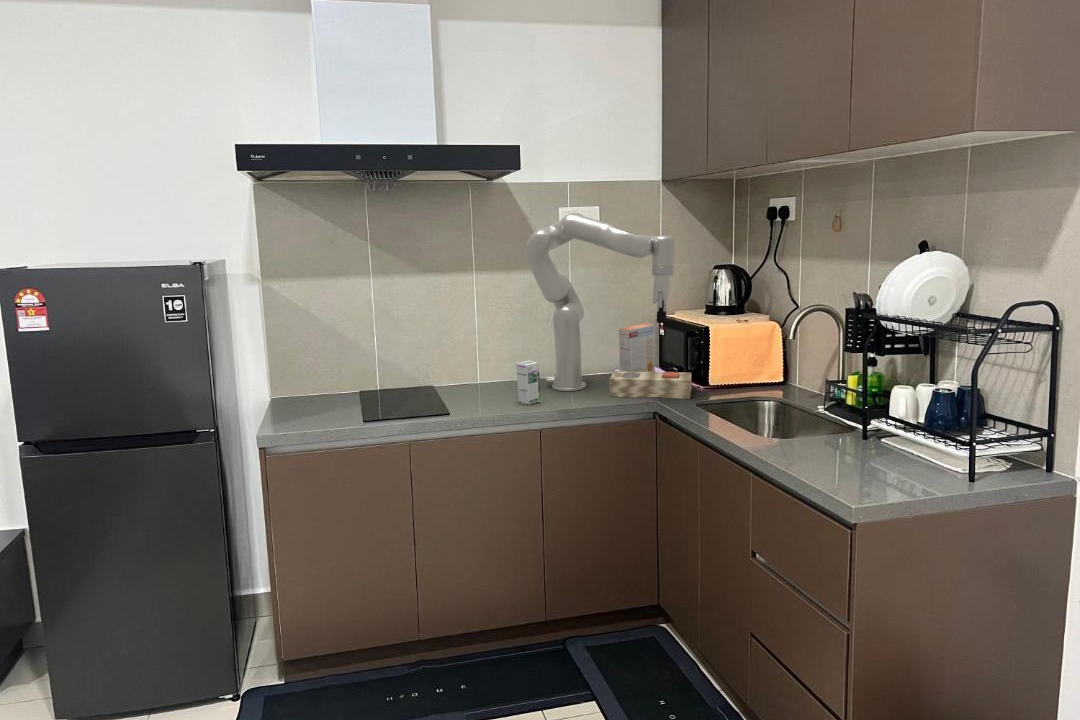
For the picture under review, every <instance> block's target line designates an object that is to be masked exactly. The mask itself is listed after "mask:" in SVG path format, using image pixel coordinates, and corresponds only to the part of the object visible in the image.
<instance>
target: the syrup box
mask: <svg viewBox="0 0 1080 720" xmlns="http://www.w3.org/2000/svg"><path fill="white" fill-rule="evenodd" d="M540 378H541V377H540V363H539V362H538V361H534V360H525V361H521V362H516V381H517V395H518V396H517V397H518V398H517V399H518V402H519V401H521V402H525V403H533V402H538V401H542V398H541V380H540Z"/></svg>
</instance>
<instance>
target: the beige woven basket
mask: <svg viewBox="0 0 1080 720" xmlns="http://www.w3.org/2000/svg"><path fill="white" fill-rule="evenodd" d="M664 372H665V371H655V372H628V371H617V370H614V371H613V372H612V374H611V376H610V377H609V397H610V396H618V397H617V398H637V397H649V398H648V399H651V398H650V397H662V398H661V399H681V400H682V399H685V400H688V399H689V400H690V399H691V395H692V372H685V371H684V372H683V371H682V372H679V378H663V373H664ZM624 374H639V378H634V377H623V376H624Z"/></svg>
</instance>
